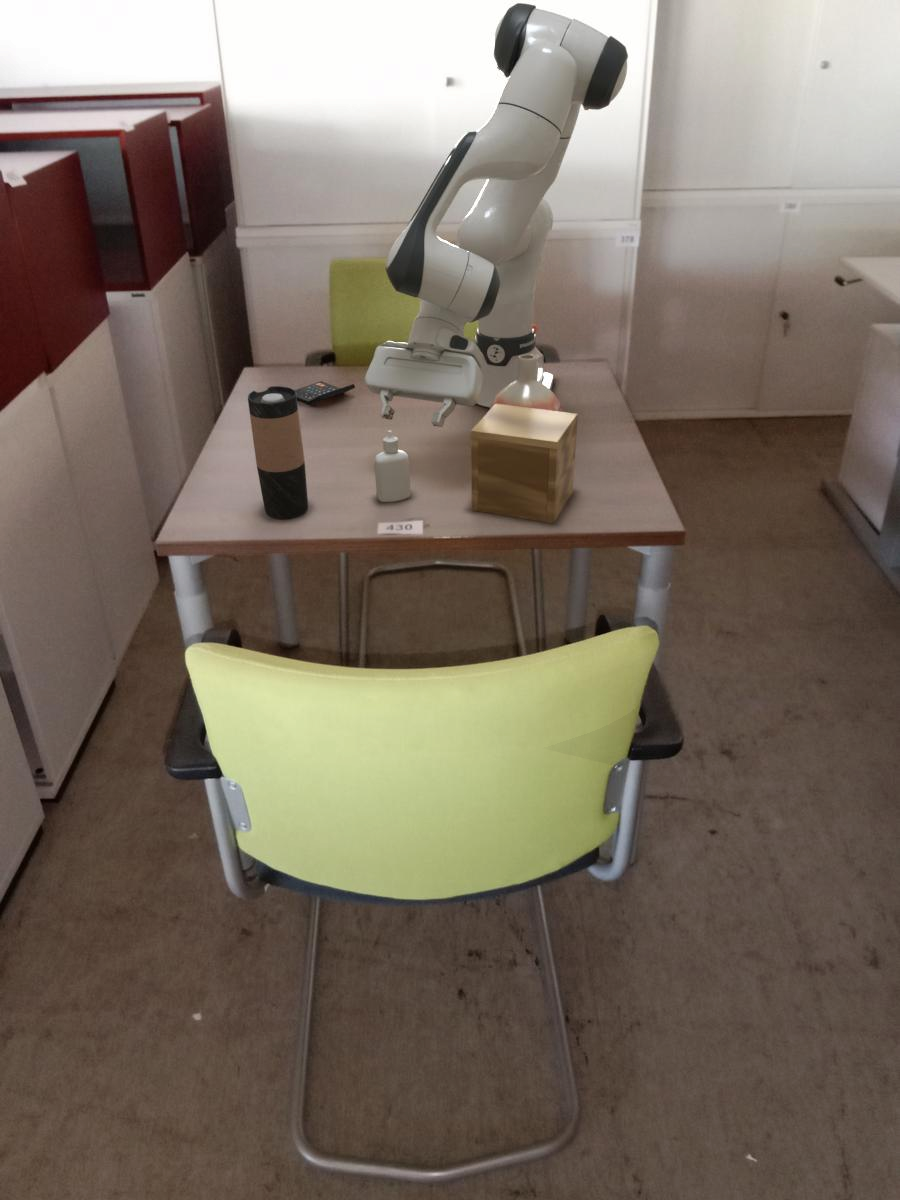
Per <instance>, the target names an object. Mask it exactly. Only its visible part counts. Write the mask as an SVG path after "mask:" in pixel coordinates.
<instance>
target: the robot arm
mask: <svg viewBox="0 0 900 1200" xmlns="http://www.w3.org/2000/svg"><path fill="white" fill-rule="evenodd" d="M492 44H493V45H492V50H493V52H492V59H493V62H494V64H495V66H496V68H497V70H499V71H500V73H502V74H503V76H504V77H505V78H507V80H506V82H505V83H504V86H503V88H502V90H501V92H500V95H499V97H498V100H497V102H496V105H495V107H494V110H493V112H492V114H491V115H490V117H489V118H488V119H487V121H486V122H485V123H484V125H483V126H482V127H480V128H479V129H477V130H473V131H472V130H471V131H467V132H466V133H464V135H462V136H461V138H460V139H459V140H458V141H457V143H455V145H454V147H453V148H452V150H451V151H450V152H449V154H448V156H447V158H446V159H445V161H444V163H443V164H442V166H441V167H440V169H439V170H438V172H437V174H436V175H435V178H434V179H433V181H432V182H431V185H430V186H429V187H428V190H427V191H426V193H425V195H424V197H423V198H422V199H421V201H420V203H419V205H418V206H417V209H416V210H415V212H414V213H413V215H412V217H411V219H410V220H409V221H408V224H407V225H406V227H405V228H404V230H403V231H402V232H401V233H400V235H399V236H398V237H397V238H396V240H395V241H394V243H393V244H392V246H391V248H390V250H389V251H388V254H387V258H386V263H385V273H386V275H387V278H388V280H389V282H390V284H391V286H392V287H393V288H394V290H395V291H396V292H397V293H401V294H402V295H403V294H404V295H406V296H409V297H413V298H414V299H415V298H418V299H419V306H420V307H419V311H418V313H417V314H416V316H415V318H414V319H413V323H412V326H411V328H410V333H409V335H408V339H407V342H400V341H399V342H396V341H395V342H394V341H392V340H387V341H385V342H383V343H381V344H379V345H378V346H377V347H376V348H375V351H374V354H373V358H372V360H371V362H370V364H369V366H368V368H367V371H366V373H365V377H364V382H365V383H364V384H365V386H366V387H367V388H368V390H369V391H370V392H372V393H373V394H376V395H379V396H380V400H381V404H382V408H381V412H380V417H381V418H382V419H383V420H390V421H391V420H393V419H394V414H395V409H394V408H393V406H390V402H392V401H393V398H394V397H397V398H398V397H399V398H404V399H405V398H407V399H413V400H419V401H426V402H427V401H429V402H434V403H435V402H436V403H441V404H443V405H444V406H443V407H442V408H441V409H440V411H439V412H433V415H432V419H431V424H432V426H433V427H438V428H443V427H444V425H445V420H446V419H447V418H448V417H449V416H450V415H451V414H452V413H453V412H454V411H455V410H456V405H457V406H465V407H474V406H475V405H476V404H477V405H479V406H481V407H484V408H485V407H486V408H490V407H491V404H492V402H493V400H494V399H495V397H496V396H497V394H498V393H499V392H500V391H501V390H502V389H503V388H505V387H506V386H507V385H509V384H510V383H512V382H514V381H515V380H517V378H518V358H519V356H520V355H522V354H532V355H534V356H535V357H536V380H538V381H539V382H541V383H542V384H544V385H545V386H547V387H548V388H549V389H550V390H551V391H552V387H553V385H554V374H552V373H549V372H547V371H544V364H545V363H544V359H545V358H544V354H543V353H542V352H541V351H540V350H539V349H538V348H537V342H536V339H537V336H536V335H537V333H538V324H536V323H534V304H535V303H534V302H535V291H536V290H535V289H536V283H537V278H538V274H539V269H540V265H541V261H542V256H543V252H544V249H545V244H546V242H547V239H548V237H549V235H550V233H551V231H552V228H553V224H554V214H553V210H552V208H551V206H550V204H549V202H548V201H547V200H546V199H545V198H544V197H545V195H546V194H547V192H548V190H549V189H550V188H551V186H553V184H554V182H555V181H556V179H557V178H558V174H559V171H560V168H561V166H562V164H563V160H564V158H565V155H566V152H567V150H568V147H569V144H570V141H571V139H572V135H573V133H574V130H575V127H576V124H577V122H578V117H579V113H580V110H581V106H582V107H583V110H584V111H589V110H595V111H597V110H598V111H599V110H602V109H604V108H607V107H609V105H610V104H611V102H612V101H613V100H614V99H616V97H617V96H618V95H619V94H620V92H621V90H622V89H623V86H624V84H625V82H626V78H627V73H628V59H629V54H628V51H627V47H626V46H625V45H624V44H623V43H622V42H621V41H619V40H618V39H617V38H615V37H614V36H612V35H609V36H607V35H606V34H604V33H603V32H601V31H599V30H597V29H596V28H594V27H592V26H590V25H589V24H586V23H584V22H582V21H581V20H578V19H575V18H573V19H572V18H569V17H567V16H564V15H562V14H558V13H556V12H552V11H548V10H544V9H540V8H537V6H536V5H534V4H529V3H522V2H517V3H515V4H514V5H512V6H510V7H508V9H507V11H506V12H505V14H504V15H503V16H502V17H501V19H500V21H499V23H498V25H497V27H496V28H495V32H494V36H493V43H492ZM476 180H486V182H485V183H484V185H483V188H482V189H481V191H480V193H479V195H478V197H477V199H476V200H475V202H474V204H473V206H472V208H471V209H470V211H469V212H468V213H467V214H466V216H465V217H464V218H463V219H462V220H461V222H460V224H459V226H458V228H457V237H456V239H457V245H458V246H457V245H454V244H453V243H451V242H449V241H447V240H444V239H442V238H441V237H439V236H438V235H437V229H438V227H439V225H440V224H441V222H442V220H443V219H444V217H445V215H446V213H447V211H448V210H449V208H450V207H451V205H452V203H453V201H454V199H456V196H457V195H458V193H459V191H460V189H461V188H462V187H463V186H464V185H466V184H467V183H469V182H472V181H476ZM476 321H477V328H476V331H475V336H474V337H475V338H474V340H475V341H474V340H472V339H470V338H468V337H466V336H464V335H465V334H464V333H465V327H466V324H467V323H470V324H471V323H474V322H476Z"/></svg>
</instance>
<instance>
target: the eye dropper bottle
mask: <svg viewBox="0 0 900 1200" xmlns="http://www.w3.org/2000/svg"><path fill="white" fill-rule="evenodd" d="M382 444H383V445H382V447H383V451H382V452H380V453H378V454H377V455H375V456H374V476H375V489H376V497H377V499H378V500H379V502H381V503H395V502H399V501H403V500H406V499H408V498H410V496H411V495H412V494H411V493H412V492H411V477H410V475H411V473H410V459H409V455H408V454H407V453H406V452H405V451H404V450H401V449H399V438H398V437H396V436H394V434H393V430H392V429H391V430H390V429H389V430H387V434H386V436H385V437H383V440H382Z"/></svg>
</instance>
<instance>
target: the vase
mask: <svg viewBox="0 0 900 1200" xmlns="http://www.w3.org/2000/svg"><path fill="white" fill-rule="evenodd" d="M495 404H502V405H511V406H519V407H527V408H535V409H543V410H551V411H559V412H563V408H562V405H561V402H560V400H559V399H558V397H557V395H556V394H555V393H554V391H552V389H551V390H550V389H549V388H548V387H547V386H545V385H544V384H542V383H541V382H539V381H538V380H536V357H535V356H534V355H532V354H522V355H520V356H519V358H518V378H517V380H515V381H514V382H512V383H510V384H509V385H507V386H506V387H505V388H503V389H502V390H501V391H500V392H499V393H498V394H497V396H496V397H495V399H494V400H493V402H492V404H491V407H489V410H488V412H489V411H490V409H491V408H492V407H493V406H494V405H495Z"/></svg>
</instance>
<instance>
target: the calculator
mask: <svg viewBox="0 0 900 1200" xmlns="http://www.w3.org/2000/svg"><path fill="white" fill-rule="evenodd" d="M353 389H356V386H355V383H352V384H350V385H346V386H344V387H339V386H335V385H332V384H330V383H327V382H324V381H321V380H320V381H317V382H314V383H312V384H308V385H306V386H304V387H300V388H297V389H293V390H294V391H295V392H296V396H297V402H300V403H302V404H304V405H307V406H311V405H314V404H317V403H320V402H322V401H325V400H328V399H331V398H334V397H336V396H339V395H342V394H345V393H347V392H349V391H351V390H353Z"/></svg>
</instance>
